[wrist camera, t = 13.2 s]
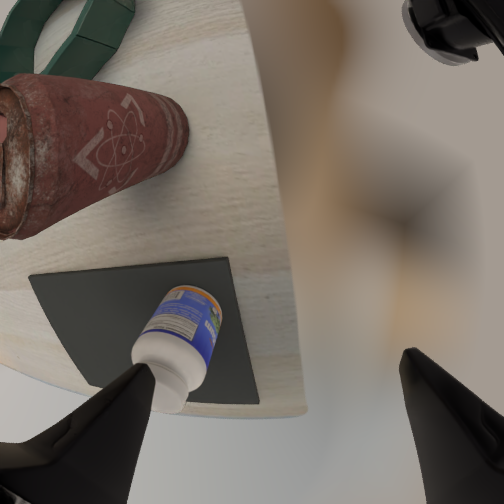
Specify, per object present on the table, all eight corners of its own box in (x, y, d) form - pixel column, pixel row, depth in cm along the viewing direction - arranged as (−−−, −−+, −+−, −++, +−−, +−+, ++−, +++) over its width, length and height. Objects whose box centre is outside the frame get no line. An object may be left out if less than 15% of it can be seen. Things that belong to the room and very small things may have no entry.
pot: (153, -52, 10) (127, -79, 5) (159, 52, 15) (122, 32, 10) (24, 26, 12) (-9, 22, 7) (22, 124, 17) (-17, 131, 12)
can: (166, 77, 16) (10, 32, 3) (206, 147, 18) (62, 190, 5) (106, 123, 17) (-49, 148, 5) (141, 188, 19) (-4, 274, 7)
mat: (228, 256, 21) (226, 259, 21) (259, 400, 29) (259, 404, 28) (30, 274, 25) (27, 277, 24) (91, 382, 32) (89, 385, 32)
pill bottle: (219, 338, 24) (194, 428, 15) (164, 324, 24) (122, 404, 15) (227, 290, 22) (197, 386, 13) (164, 276, 22) (108, 357, 13)
